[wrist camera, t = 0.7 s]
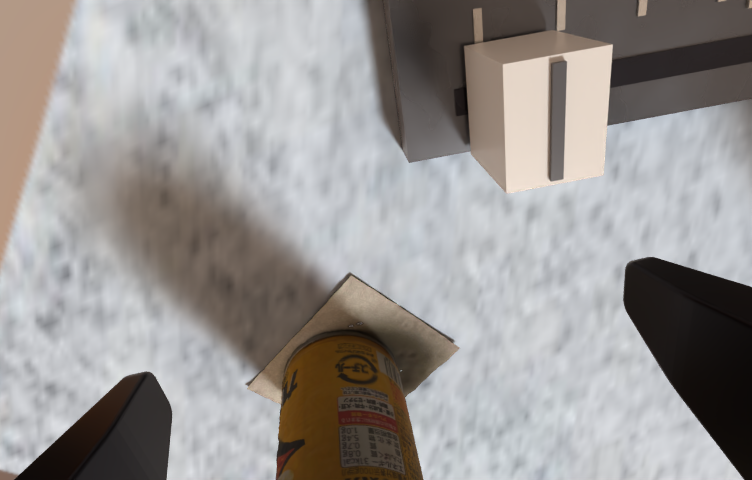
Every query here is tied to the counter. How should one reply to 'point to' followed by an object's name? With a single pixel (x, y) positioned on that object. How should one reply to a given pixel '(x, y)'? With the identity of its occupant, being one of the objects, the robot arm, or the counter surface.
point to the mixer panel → (577, 17)
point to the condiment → (351, 389)
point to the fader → (538, 108)
